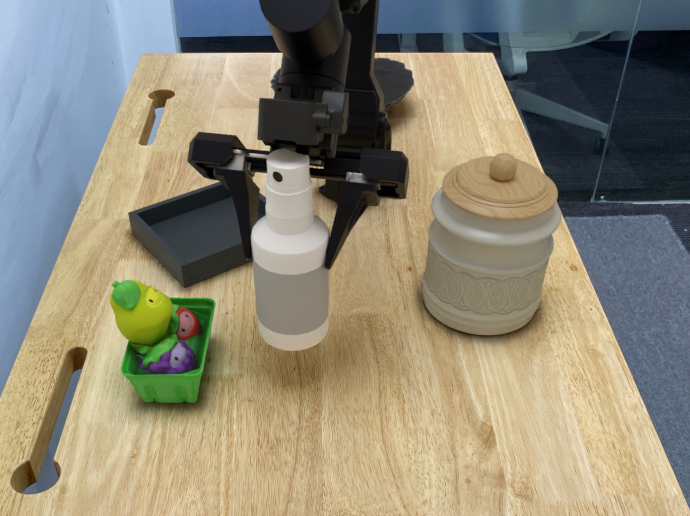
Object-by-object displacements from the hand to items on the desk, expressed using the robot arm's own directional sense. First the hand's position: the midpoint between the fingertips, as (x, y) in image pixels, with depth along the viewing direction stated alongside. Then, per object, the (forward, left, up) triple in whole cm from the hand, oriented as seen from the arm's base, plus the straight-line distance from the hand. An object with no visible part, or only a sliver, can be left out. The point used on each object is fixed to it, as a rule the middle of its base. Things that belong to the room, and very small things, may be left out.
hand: (287, 264), depth 67 cm
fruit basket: (+8, -9, -14) cm, 19 cm away
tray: (-10, -25, -14) cm, 30 cm away
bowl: (-46, -40, -12) cm, 62 cm away
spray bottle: (-1, -1, -9) cm, 9 cm away
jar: (-24, +5, -14) cm, 28 cm away
